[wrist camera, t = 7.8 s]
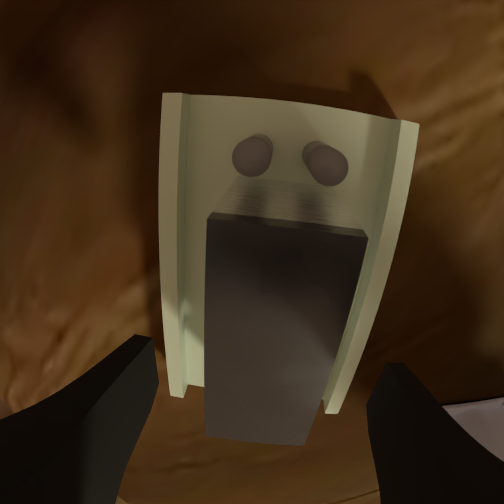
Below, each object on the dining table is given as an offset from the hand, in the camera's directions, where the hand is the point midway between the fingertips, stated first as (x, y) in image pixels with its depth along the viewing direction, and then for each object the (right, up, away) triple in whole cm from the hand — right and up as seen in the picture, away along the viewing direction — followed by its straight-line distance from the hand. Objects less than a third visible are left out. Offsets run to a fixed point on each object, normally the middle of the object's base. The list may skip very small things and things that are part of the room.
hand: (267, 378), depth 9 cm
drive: (0, +3, +6) cm, 6 cm away
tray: (+1, +3, +7) cm, 7 cm away
